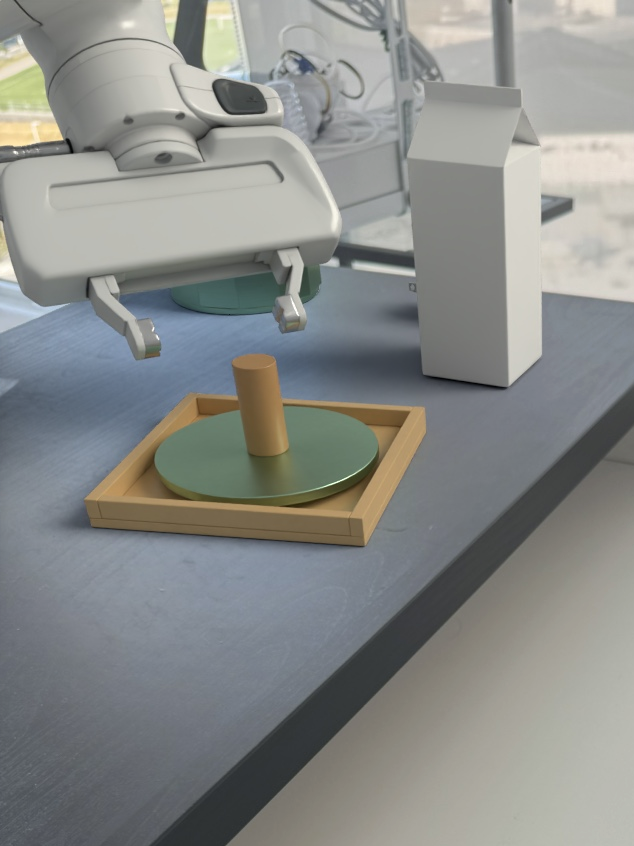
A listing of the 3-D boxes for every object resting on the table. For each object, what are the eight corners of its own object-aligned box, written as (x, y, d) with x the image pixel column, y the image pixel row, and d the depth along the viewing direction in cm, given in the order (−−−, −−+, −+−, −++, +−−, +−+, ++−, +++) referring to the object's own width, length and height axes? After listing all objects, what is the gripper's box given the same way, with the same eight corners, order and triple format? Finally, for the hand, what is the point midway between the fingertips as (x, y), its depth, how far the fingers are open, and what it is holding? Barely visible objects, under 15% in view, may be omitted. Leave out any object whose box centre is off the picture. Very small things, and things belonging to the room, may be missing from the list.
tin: (148, 310, 99) (128, 221, 94) (202, 266, 109) (187, 183, 104) (295, 318, 98) (282, 229, 94) (336, 273, 108) (327, 190, 103)
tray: (91, 527, 69) (83, 499, 68) (194, 417, 82) (189, 392, 81) (365, 546, 68) (362, 518, 67) (426, 432, 81) (424, 406, 79)
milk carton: (509, 390, 87) (501, 97, 75) (422, 377, 88) (401, 88, 76) (542, 358, 92) (541, 80, 80) (459, 346, 94) (445, 72, 81)
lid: (122, 509, 70) (93, 397, 65) (205, 418, 80) (185, 317, 76) (348, 525, 69) (333, 412, 64) (402, 431, 79) (393, 329, 75)
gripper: (-43, 115, 65) (52, 344, 65) (300, 86, 74) (383, 288, 74) (-36, 185, 71) (52, 396, 71) (282, 150, 80) (359, 338, 80)
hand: (224, 340), depth 73 cm, fingers open, 8 cm apart
